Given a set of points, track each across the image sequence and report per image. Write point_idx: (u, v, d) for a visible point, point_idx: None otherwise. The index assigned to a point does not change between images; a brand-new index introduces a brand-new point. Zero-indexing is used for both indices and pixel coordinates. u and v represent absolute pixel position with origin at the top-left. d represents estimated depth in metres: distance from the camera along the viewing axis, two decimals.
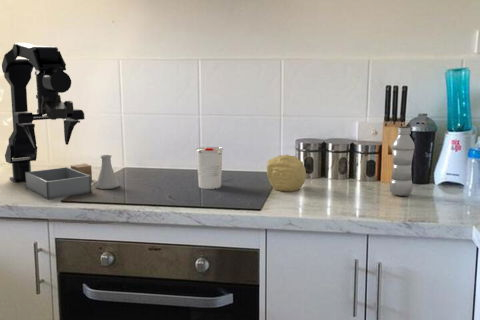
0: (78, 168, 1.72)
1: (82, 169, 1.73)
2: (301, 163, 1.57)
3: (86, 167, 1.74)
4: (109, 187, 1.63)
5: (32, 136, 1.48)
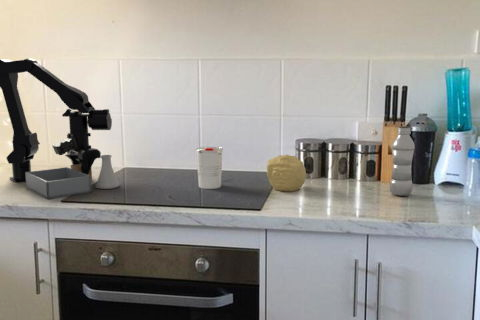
0: (78, 168, 1.72)
1: None
2: (301, 163, 1.57)
3: None
4: (109, 187, 1.63)
5: None
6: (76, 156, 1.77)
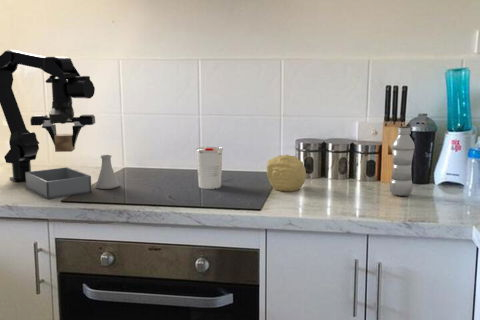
0: (71, 136, 1.66)
1: (72, 137, 1.67)
2: (301, 163, 1.57)
3: None
4: (109, 187, 1.63)
5: (52, 137, 1.66)
6: (53, 127, 1.67)
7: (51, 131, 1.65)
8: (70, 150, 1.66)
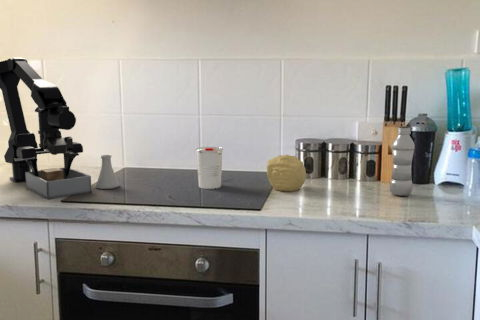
0: None
1: None
2: (301, 163, 1.57)
3: None
4: (109, 187, 1.63)
5: (35, 169, 1.59)
6: None
7: (35, 163, 1.59)
8: None
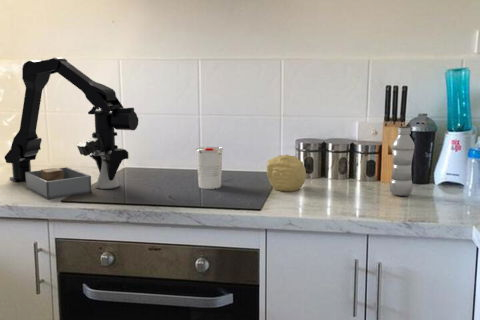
0: None
1: None
2: (301, 163, 1.57)
3: None
4: (109, 187, 1.63)
5: (98, 167, 1.67)
6: None
7: (96, 161, 1.66)
8: None
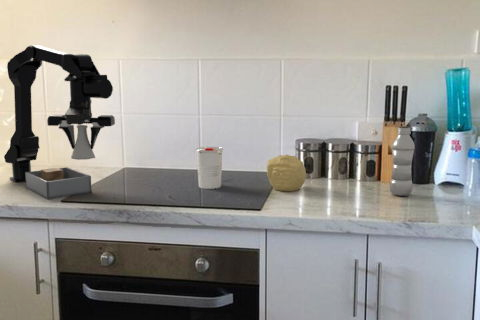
0: None
1: None
2: (301, 163, 1.57)
3: None
4: (93, 157, 1.60)
5: (69, 138, 1.58)
6: (71, 128, 1.59)
7: (68, 132, 1.58)
8: None
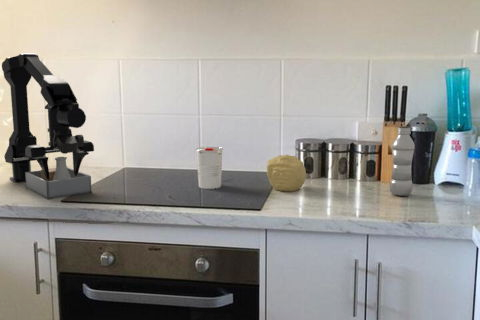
0: None
1: None
2: (301, 163, 1.57)
3: None
4: None
5: (45, 169, 1.53)
6: None
7: (46, 162, 1.53)
8: None
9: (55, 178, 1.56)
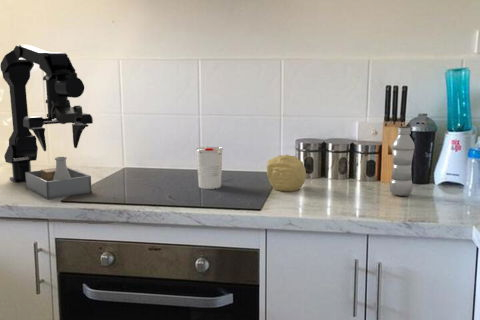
0: None
1: None
2: (301, 163, 1.57)
3: None
4: None
5: (42, 140, 1.51)
6: None
7: (42, 133, 1.51)
8: None
9: (55, 178, 1.56)
